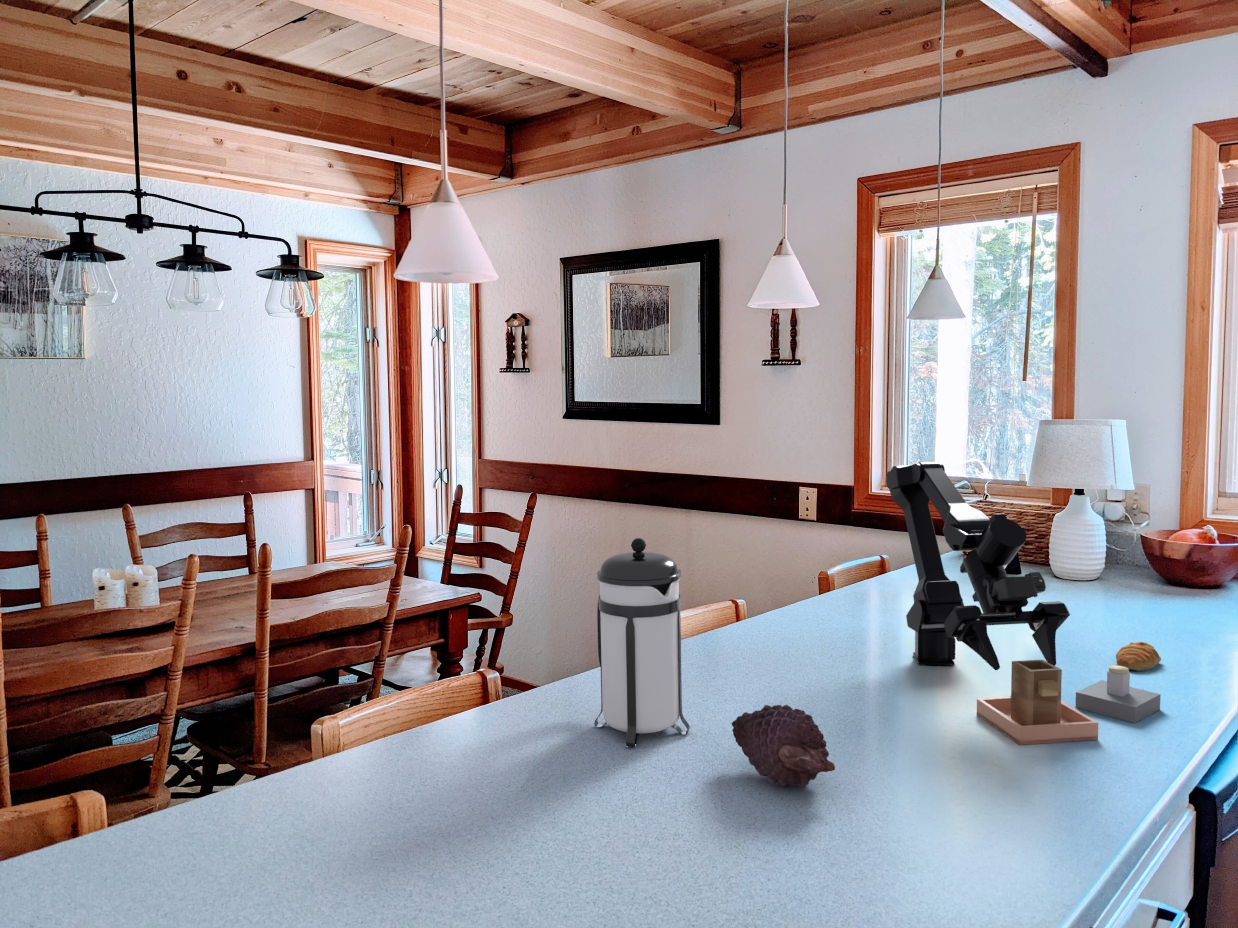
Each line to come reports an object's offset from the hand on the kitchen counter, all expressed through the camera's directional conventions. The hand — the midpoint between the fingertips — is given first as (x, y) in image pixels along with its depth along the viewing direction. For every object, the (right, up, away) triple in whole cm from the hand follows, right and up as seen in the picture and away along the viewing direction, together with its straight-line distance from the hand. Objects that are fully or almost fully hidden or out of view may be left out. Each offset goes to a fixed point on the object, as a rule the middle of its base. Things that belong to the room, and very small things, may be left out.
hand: (1025, 667), depth 138 cm
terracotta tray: (+1, -9, -2) cm, 9 cm away
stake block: (+17, -8, +5) cm, 19 cm away
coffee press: (-60, -10, +1) cm, 61 cm away
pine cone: (-41, -11, -18) cm, 46 cm away
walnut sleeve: (+1, -8, -2) cm, 8 cm away
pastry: (+33, -6, +27) cm, 43 cm away
